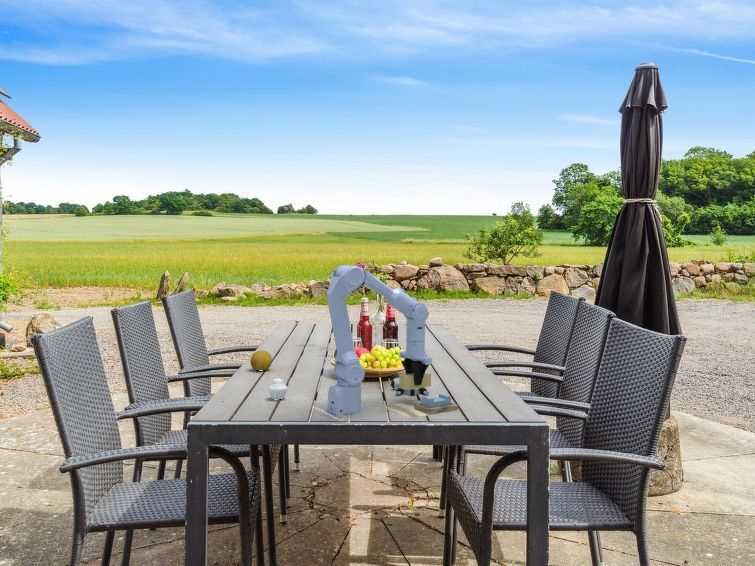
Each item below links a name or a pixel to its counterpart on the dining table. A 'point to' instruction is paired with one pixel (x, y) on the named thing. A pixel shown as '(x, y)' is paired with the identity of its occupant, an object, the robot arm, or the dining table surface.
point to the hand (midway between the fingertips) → (414, 384)
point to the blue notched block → (436, 401)
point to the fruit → (261, 360)
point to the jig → (419, 409)
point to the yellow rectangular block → (408, 381)
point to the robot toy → (412, 392)
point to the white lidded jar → (277, 389)
